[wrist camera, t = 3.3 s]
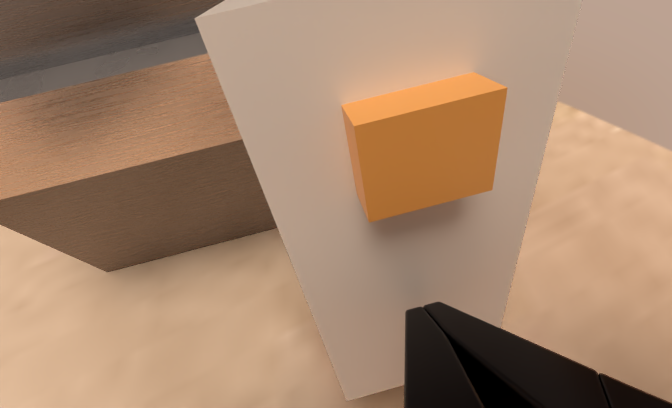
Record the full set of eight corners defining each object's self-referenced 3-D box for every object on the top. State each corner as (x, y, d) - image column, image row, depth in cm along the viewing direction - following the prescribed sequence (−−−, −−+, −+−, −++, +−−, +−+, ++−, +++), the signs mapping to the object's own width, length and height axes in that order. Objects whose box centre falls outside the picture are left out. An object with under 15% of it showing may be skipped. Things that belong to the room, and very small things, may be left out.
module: (507, 384, 10) (669, -88, 3) (352, 429, 10) (179, 27, 3) (438, 270, 14) (447, -53, 7) (327, 300, 13) (227, -2, 7)
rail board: (428, 204, 17) (639, -487, 4) (104, 289, 17) (-1120, -167, 3) (392, 127, 20) (435, -403, 7) (118, 197, 20) (-455, -236, 6)
